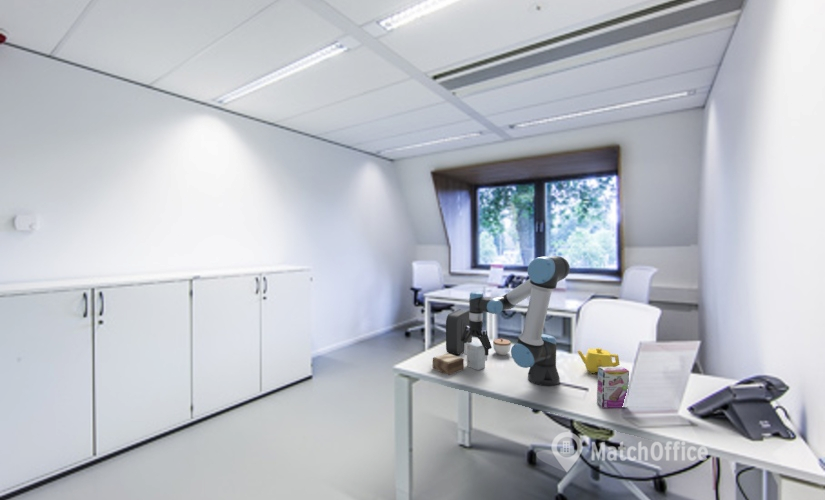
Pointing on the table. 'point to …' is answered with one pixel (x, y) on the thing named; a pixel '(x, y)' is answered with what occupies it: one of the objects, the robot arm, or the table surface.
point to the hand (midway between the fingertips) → (475, 357)
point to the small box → (475, 355)
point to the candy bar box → (612, 386)
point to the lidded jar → (501, 346)
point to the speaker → (456, 331)
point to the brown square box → (448, 363)
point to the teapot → (598, 359)
